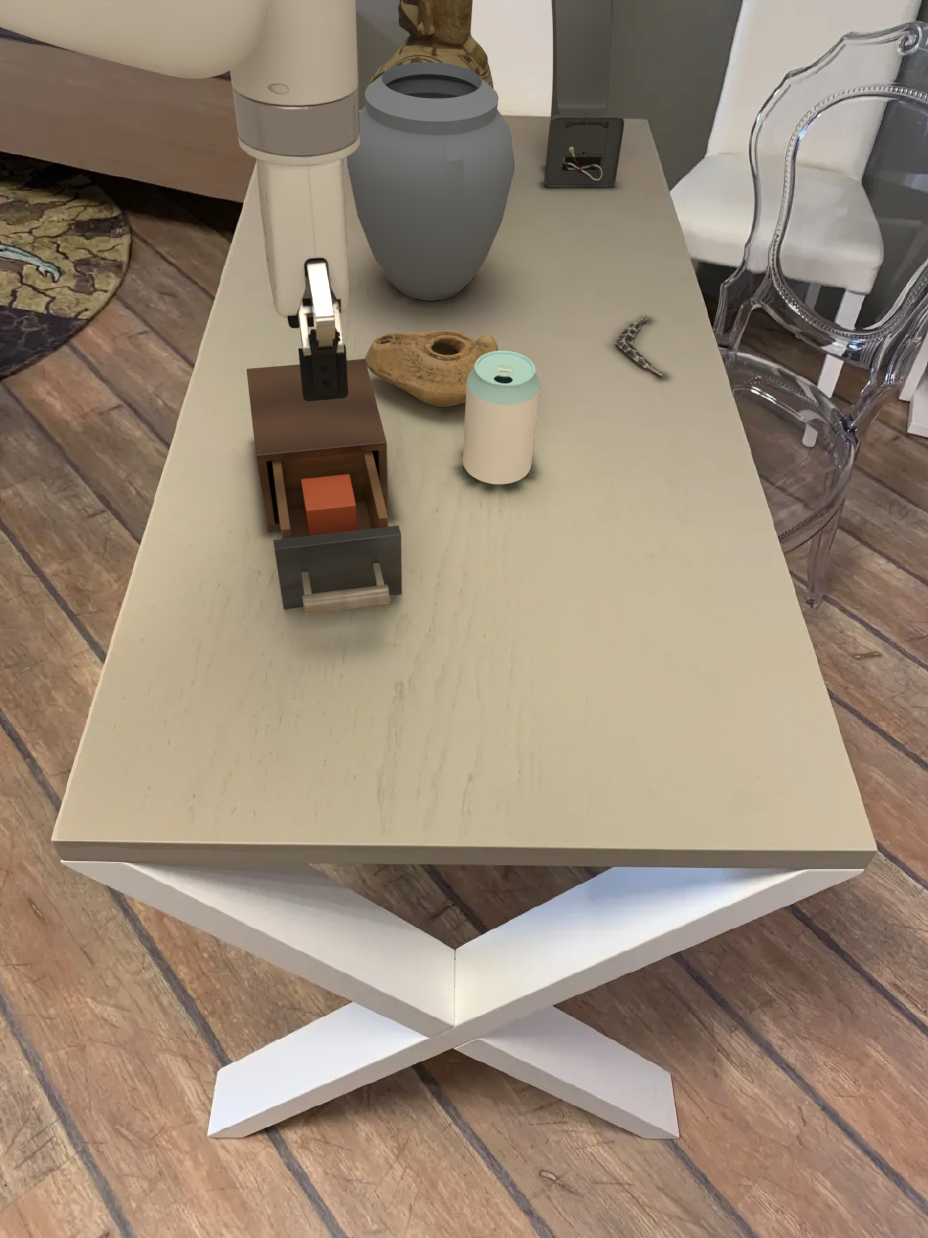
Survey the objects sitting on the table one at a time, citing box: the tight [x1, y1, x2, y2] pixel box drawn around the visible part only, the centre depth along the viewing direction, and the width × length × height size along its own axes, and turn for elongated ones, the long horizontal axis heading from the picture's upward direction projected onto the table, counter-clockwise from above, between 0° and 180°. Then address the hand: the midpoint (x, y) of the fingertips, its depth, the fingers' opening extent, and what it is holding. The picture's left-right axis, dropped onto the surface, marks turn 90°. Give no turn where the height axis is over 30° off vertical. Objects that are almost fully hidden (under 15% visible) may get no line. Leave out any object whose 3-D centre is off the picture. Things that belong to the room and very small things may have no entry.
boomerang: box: [614, 316, 664, 377], centre depth 113 cm, size 13×1×5 cm
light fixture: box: [543, 0, 625, 188], centre depth 139 cm, size 11×17×24 cm, turn 6°
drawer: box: [272, 451, 403, 615], centre depth 82 cm, size 17×10×7 cm, turn 12°
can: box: [462, 350, 542, 485], centre depth 93 cm, size 7×7×12 cm
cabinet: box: [246, 358, 390, 532], centre depth 91 cm, size 14×12×9 cm
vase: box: [346, 62, 515, 302], centre depth 112 cm, size 20×20×24 cm
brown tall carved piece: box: [368, 0, 495, 90], centre depth 131 cm, size 19×21×30 cm
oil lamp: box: [364, 329, 499, 408], centre depth 103 cm, size 11×15×8 cm
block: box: [301, 474, 357, 536], centre depth 86 cm, size 4×4×4 cm
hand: (317, 359), depth 71 cm, fingers open, 9 cm apart
